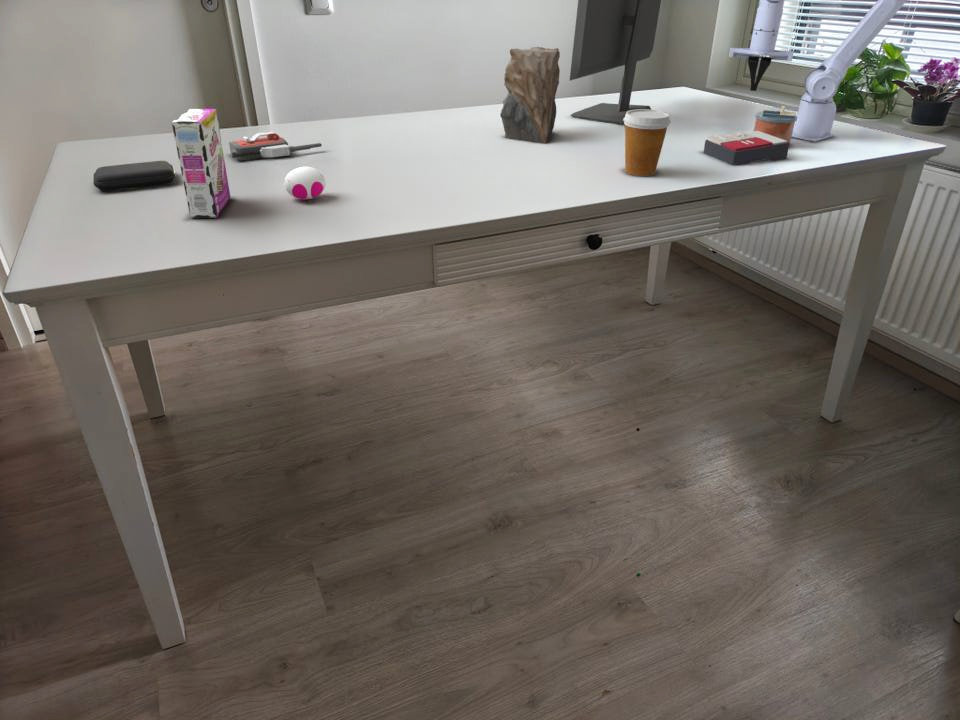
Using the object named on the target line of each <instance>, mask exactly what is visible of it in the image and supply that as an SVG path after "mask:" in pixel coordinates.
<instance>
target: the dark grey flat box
mask: <svg viewBox="0 0 960 720" xmlns="http://www.w3.org/2000/svg"><path fill="white" fill-rule="evenodd" d="M789 144H791V142H790V143H789V142H787V141H786V140H783V139H780V138H777V137H774V136H771V135H769V134H766V133H763V132H760V131H754V130H752V131H747V132H736V133H730V134H727V135H725V134H724V135H716V136H711V137H708V138H707V139H705V140H704V147H703V154H706V155H708V156H711V157H712V158H715V159H718V160H720V161H722V162H725V163H727V164H729V165H731V166H736V165H742V164H747V163H753V162H759V161H764V160H765V161H766V160H771V161H779V160H780V161H781V160H786V159H787V158H788V154H789V148H790V145H789Z"/></svg>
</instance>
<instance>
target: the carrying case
mask: <svg viewBox="0 0 960 720" xmlns="http://www.w3.org/2000/svg"><path fill="white" fill-rule="evenodd" d="M176 178H177V174H176V171H175V168H174V166H173V164H171V163H170V162H168V161H167V160H155V161H152V160H151V161H142V162H132V163H123V164H114V165H106V166H105V165H104V166H100V167H98V168H96V169H95V172H94V173H93V186H94V187H95V188H97V189H98V190H99V191H101V192H112V191H121V190H123V191H124V190H131V189H139V188H149V187H156V186H165V185H170V184H172V183H173V182H174V180H175V179H176Z"/></svg>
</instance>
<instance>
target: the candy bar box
mask: <svg viewBox="0 0 960 720" xmlns="http://www.w3.org/2000/svg"><path fill="white" fill-rule="evenodd" d="M171 126H172V131H173V137H174V142H175V146H176V151H177V157H178V162H179V168H180V171H181V177H182V182H183V187H184V193H185V198H186V202H187V207H188V213H189V218H192V219H204V218H205V219H209V218H210V219H214V218H218V217H219V215H220V214H221V212H222V211H223V209H224V208H225V206H226V205H227V203H228V202H229V201H230V199H231V192H230V191H231V190H230V186H229V185H230V184H229V179H228V174H227V167H226V160H225V155H224V150H223V143H222V142H223V141H222V137H221V131H220V124H219V118H218V112H217V109H216V108H189V109H188V110H186V111H185V112H184V113H182V114H181V115H180V116H178V117H176V118H175V119H173V121H172V122H171Z"/></svg>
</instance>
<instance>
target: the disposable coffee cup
mask: <svg viewBox="0 0 960 720" xmlns="http://www.w3.org/2000/svg"><path fill="white" fill-rule="evenodd" d="M623 120H624V151H625V152H624V155H625V156H624V168H625V169H624V170H625V171H624V172H625V173H626V174H628V175H630V176H631V175H632V176H636V177H649V176H653V175H656V172H657V167H658V163H659V159H660V156H661V153H662V150H663V145H664V142H665V138H666V134H667V130H668V127H669V126H670V124H671V119H670V114H669V113H668V112H666V111H664V110H663V111H662V110H659V109H658V110H657V109H651V110H649V109H636V110H630V111H627V112H626V115H625V117H624V118H623Z"/></svg>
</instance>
